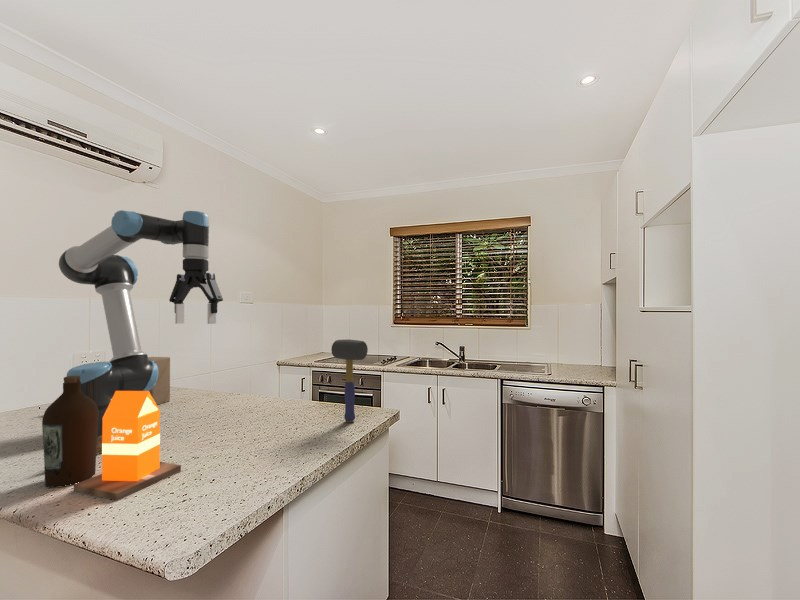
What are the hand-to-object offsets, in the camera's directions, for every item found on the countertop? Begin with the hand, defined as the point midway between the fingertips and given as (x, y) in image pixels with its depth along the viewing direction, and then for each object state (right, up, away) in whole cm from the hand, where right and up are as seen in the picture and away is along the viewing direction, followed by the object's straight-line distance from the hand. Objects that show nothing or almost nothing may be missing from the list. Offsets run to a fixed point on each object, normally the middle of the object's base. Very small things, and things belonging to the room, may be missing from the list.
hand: (195, 323), depth 126 cm
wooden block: (-43, -38, +44) cm, 72 cm away
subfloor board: (+2, -36, -33) cm, 49 cm away
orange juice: (+2, -35, -33) cm, 48 cm away
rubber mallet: (+49, -37, +14) cm, 63 cm away
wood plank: (-20, -37, -20) cm, 47 cm away
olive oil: (-14, -36, -32) cm, 50 cm away
